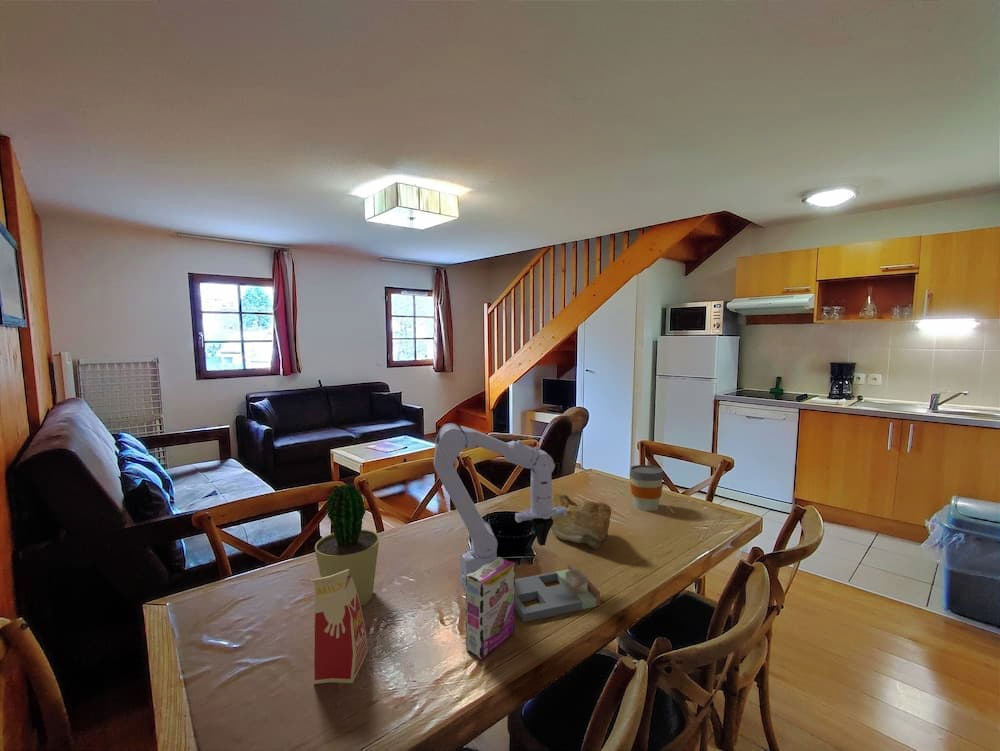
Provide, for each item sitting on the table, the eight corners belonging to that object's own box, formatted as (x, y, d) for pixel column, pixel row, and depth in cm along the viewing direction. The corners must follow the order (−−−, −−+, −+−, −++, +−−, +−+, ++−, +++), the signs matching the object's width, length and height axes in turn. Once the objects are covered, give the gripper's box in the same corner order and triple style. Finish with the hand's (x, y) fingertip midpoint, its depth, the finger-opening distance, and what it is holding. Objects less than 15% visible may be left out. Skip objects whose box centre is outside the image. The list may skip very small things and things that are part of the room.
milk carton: (367, 650, 94) (364, 558, 92) (355, 683, 84) (351, 581, 83) (323, 651, 93) (320, 559, 92) (306, 685, 84) (302, 583, 83)
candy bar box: (482, 661, 90) (481, 583, 89) (464, 651, 93) (463, 575, 92) (516, 633, 98) (515, 561, 97) (498, 624, 102) (498, 555, 100)
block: (573, 595, 110) (573, 579, 109) (565, 587, 113) (565, 571, 113) (587, 592, 111) (587, 576, 111) (579, 584, 115) (579, 569, 114)
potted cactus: (377, 577, 123) (374, 470, 121) (384, 607, 109) (380, 487, 107) (317, 588, 117) (313, 477, 115) (316, 622, 103) (311, 495, 101)
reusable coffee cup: (623, 503, 178) (623, 466, 177) (649, 499, 182) (650, 463, 181) (641, 514, 166) (642, 475, 165) (670, 510, 170) (670, 471, 169)
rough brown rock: (633, 547, 141) (634, 500, 142) (599, 558, 131) (600, 507, 131) (577, 526, 160) (579, 485, 160) (544, 535, 150) (545, 490, 150)
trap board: (523, 622, 102) (523, 607, 102) (502, 588, 117) (502, 575, 116) (599, 605, 109) (599, 591, 108) (571, 575, 123) (571, 563, 123)
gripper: (521, 503, 115) (521, 554, 115) (572, 496, 119) (572, 546, 120) (512, 494, 121) (512, 543, 122) (560, 488, 126) (560, 535, 127)
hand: (541, 543), depth 122 cm, fingers closed
